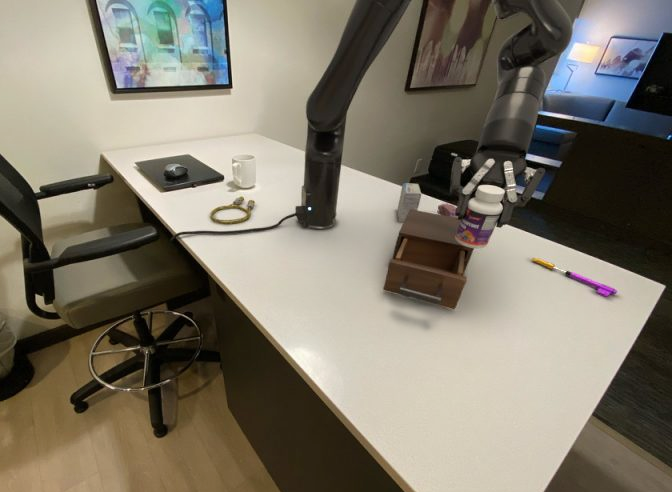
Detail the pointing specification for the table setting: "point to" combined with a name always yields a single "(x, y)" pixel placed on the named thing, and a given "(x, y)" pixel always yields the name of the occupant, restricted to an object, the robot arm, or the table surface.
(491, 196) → the pill bottle
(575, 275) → the purple and yellow rod
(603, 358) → the table surface
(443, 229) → the cabinet
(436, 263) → the drawer
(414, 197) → the medicine box
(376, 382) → the table surface
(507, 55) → the robot arm
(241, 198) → the coiled yellow cable
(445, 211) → the video game controller
